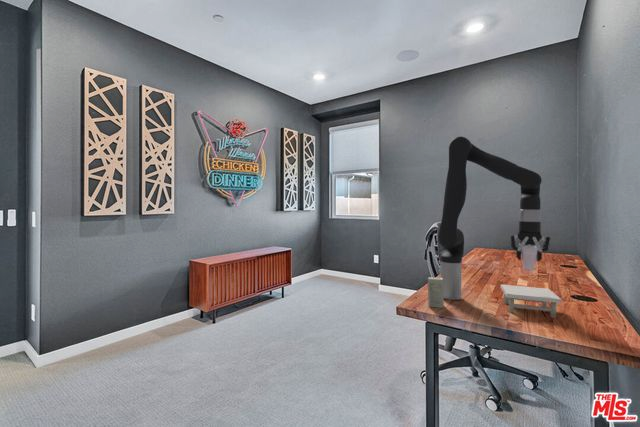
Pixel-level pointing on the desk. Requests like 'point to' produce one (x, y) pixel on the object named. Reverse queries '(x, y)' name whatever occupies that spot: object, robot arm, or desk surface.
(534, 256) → the smoothie
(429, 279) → the skincare box
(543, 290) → the footstool
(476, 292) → the desk surface
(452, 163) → the robot arm
